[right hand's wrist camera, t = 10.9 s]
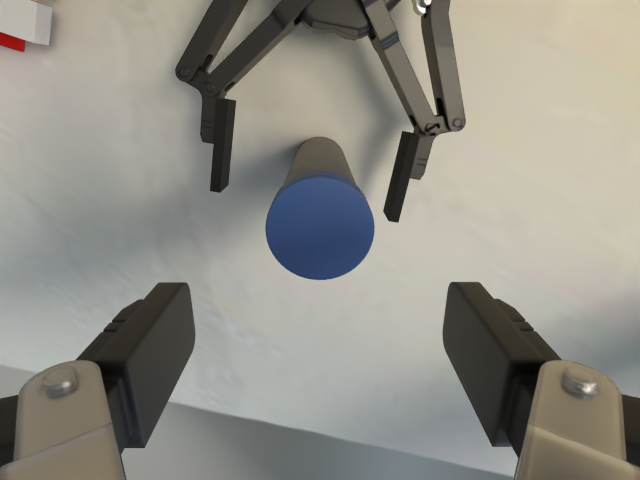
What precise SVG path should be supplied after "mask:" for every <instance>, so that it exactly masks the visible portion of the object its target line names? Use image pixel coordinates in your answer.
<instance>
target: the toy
mask: <svg viewBox="0 0 640 480" xmlns="http://www.w3.org/2000/svg"><path fill="white" fill-rule="evenodd" d="M51 19H52V7H49V6H46V5H43V4H41V3H38V2H35V1H32V0H0V45H2V46H5V47H8V48H12V49H15V50H18V51H23V52H24V44H25V40H26V41H29V42H32V43H36V44H43V45H49V40H50V29H51Z"/></svg>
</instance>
